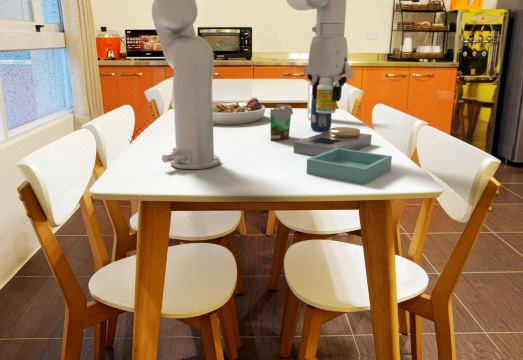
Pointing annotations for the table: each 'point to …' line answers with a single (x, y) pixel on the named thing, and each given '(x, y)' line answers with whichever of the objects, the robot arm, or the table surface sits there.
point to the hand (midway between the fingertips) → (326, 99)
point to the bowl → (237, 112)
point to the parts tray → (349, 165)
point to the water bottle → (310, 99)
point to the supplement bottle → (325, 95)
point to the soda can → (319, 119)
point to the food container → (280, 122)
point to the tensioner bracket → (333, 141)
